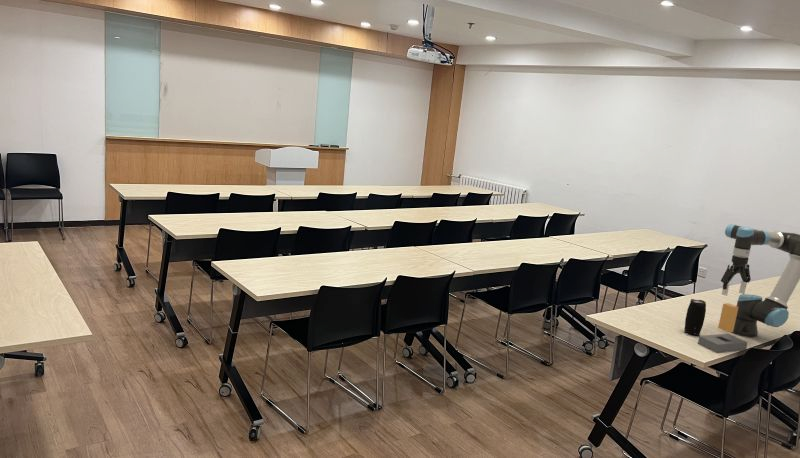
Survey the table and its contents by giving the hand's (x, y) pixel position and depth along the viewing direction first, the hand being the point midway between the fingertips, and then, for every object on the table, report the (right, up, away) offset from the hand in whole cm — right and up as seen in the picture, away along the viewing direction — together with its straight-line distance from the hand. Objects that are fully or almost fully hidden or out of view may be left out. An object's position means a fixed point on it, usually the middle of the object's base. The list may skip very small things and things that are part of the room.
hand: (733, 294), depth 317 cm
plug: (-4, -20, +1) cm, 20 cm away
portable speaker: (-13, -25, +19) cm, 34 cm away
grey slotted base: (-5, -29, +2) cm, 29 cm away
